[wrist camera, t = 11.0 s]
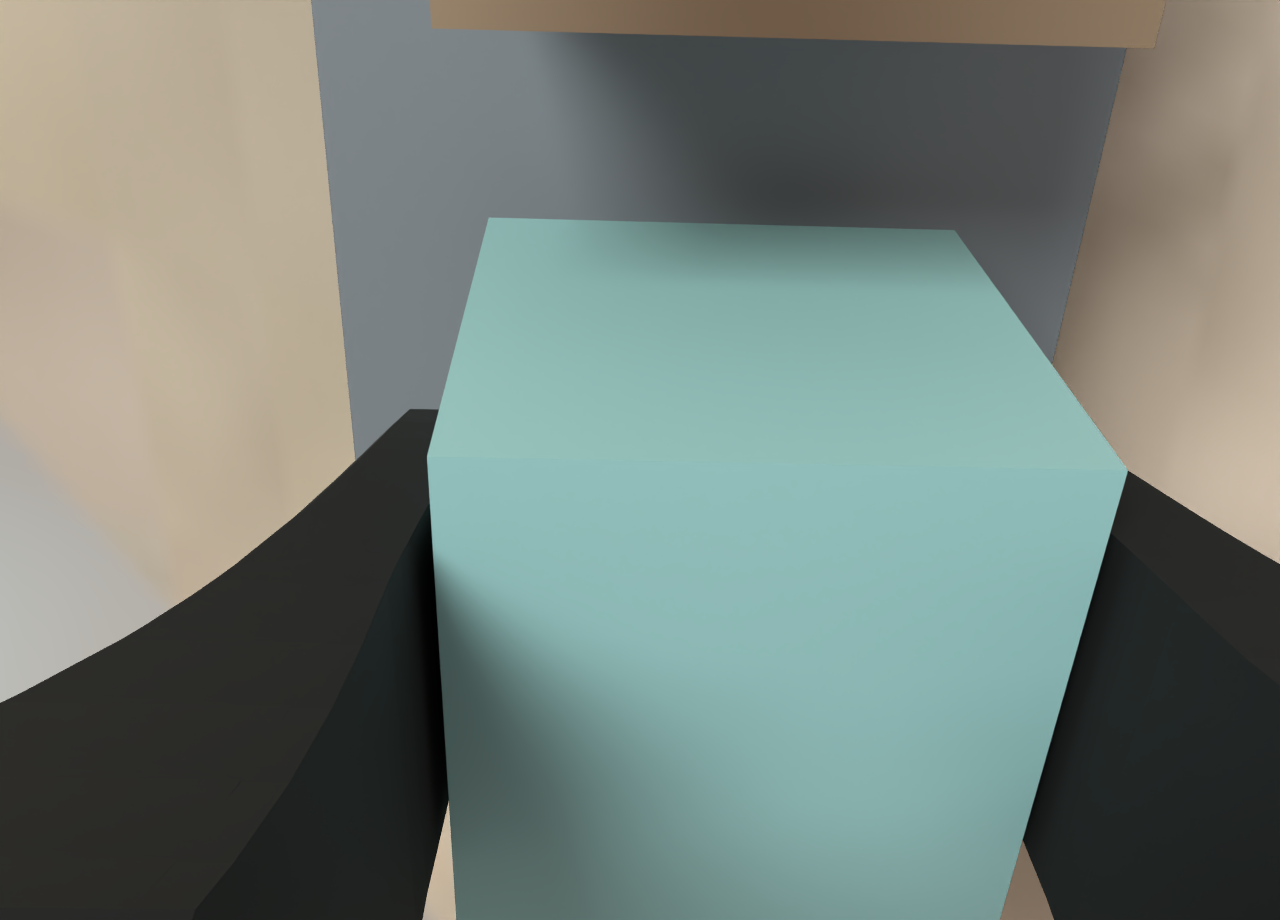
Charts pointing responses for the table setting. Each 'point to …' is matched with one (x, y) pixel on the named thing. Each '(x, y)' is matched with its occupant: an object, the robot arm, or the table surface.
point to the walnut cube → (827, 19)
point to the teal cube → (751, 573)
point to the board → (679, 158)
